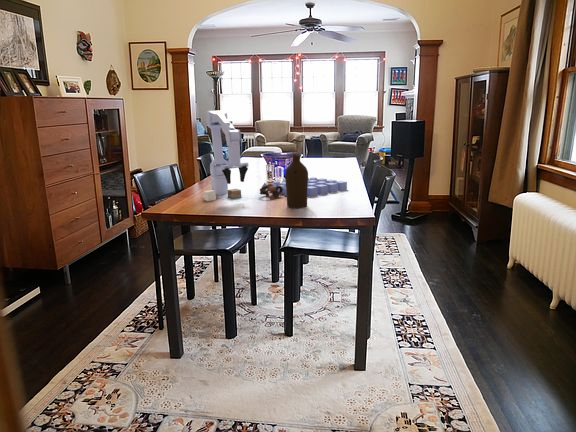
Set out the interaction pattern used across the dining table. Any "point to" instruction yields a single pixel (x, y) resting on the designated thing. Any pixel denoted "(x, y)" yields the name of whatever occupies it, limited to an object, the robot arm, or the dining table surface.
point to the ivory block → (209, 195)
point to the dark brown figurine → (273, 189)
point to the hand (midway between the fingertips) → (235, 182)
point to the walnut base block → (234, 193)
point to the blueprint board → (235, 198)
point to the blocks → (316, 186)
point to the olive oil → (296, 183)
